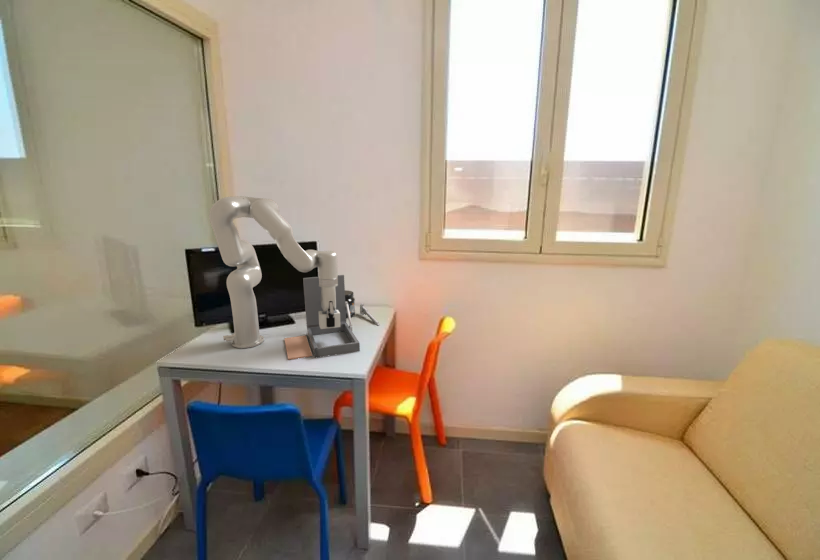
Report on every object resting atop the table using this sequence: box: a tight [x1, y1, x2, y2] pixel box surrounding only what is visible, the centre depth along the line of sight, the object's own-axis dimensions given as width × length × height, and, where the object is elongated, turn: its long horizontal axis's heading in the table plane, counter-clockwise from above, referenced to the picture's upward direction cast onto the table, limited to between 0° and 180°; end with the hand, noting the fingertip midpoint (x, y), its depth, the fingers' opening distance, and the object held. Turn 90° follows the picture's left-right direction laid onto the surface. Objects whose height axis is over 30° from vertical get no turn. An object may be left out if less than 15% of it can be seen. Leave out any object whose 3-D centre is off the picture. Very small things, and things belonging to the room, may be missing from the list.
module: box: [319, 310, 340, 329], centre depth 165 cm, size 8×5×6 cm, turn 110°
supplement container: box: [345, 289, 356, 319], centre depth 200 cm, size 10×10×12 cm
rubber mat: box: [283, 334, 313, 361], centre depth 162 cm, size 9×22×1 cm, turn 20°
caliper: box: [359, 302, 381, 326], centre depth 195 cm, size 20×1×6 cm, turn 31°
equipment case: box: [302, 274, 361, 359], centre depth 165 cm, size 19×26×26 cm
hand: (329, 324), depth 165 cm, fingers closed on module, 5 cm apart
